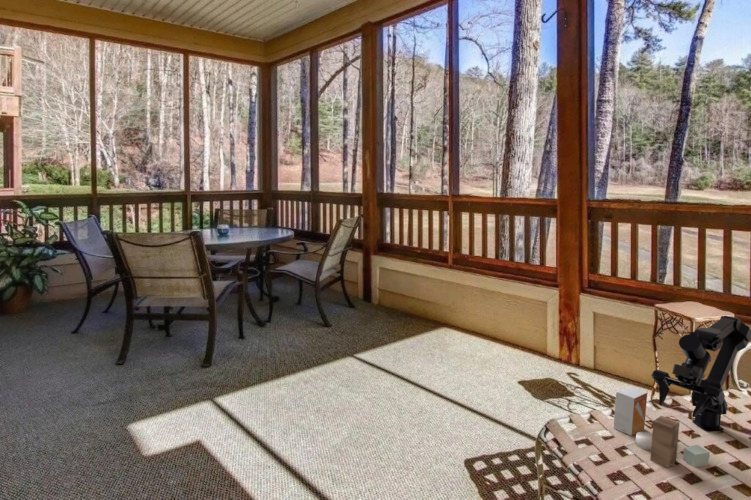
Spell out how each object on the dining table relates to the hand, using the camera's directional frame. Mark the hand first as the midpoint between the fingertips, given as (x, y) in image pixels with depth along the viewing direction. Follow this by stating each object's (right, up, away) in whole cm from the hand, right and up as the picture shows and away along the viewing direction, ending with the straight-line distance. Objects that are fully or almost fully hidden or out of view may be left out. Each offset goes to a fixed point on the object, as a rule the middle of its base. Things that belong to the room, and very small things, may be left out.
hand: (676, 410), depth 147 cm
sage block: (+3, -14, -4) cm, 15 cm away
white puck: (-6, -13, +5) cm, 15 cm away
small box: (-7, -11, +15) cm, 20 cm away
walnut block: (-6, -14, -3) cm, 15 cm away
